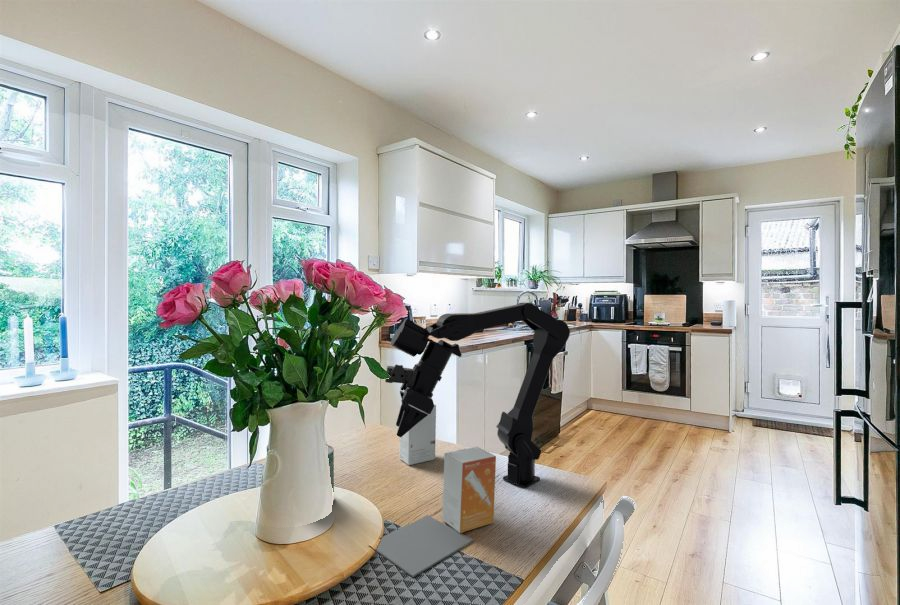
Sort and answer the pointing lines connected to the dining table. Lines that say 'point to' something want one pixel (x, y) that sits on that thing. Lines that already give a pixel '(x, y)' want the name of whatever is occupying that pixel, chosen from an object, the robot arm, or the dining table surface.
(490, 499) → the small box
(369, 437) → the dining table surface
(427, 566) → the mat
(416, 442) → the skincare box
